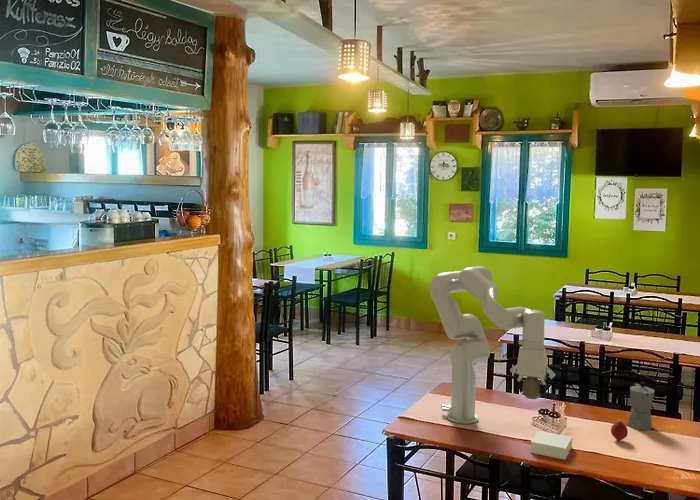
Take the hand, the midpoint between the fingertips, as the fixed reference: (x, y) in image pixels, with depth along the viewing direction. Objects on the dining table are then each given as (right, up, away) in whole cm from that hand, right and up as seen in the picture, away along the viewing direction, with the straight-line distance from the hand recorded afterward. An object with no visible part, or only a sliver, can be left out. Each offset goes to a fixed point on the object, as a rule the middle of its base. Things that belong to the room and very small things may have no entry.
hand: (531, 392), depth 242 cm
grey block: (+6, -20, -3) cm, 21 cm away
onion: (+34, -20, +7) cm, 40 cm away
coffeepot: (+49, -18, +23) cm, 57 cm away
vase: (0, -2, 0) cm, 2 cm away
